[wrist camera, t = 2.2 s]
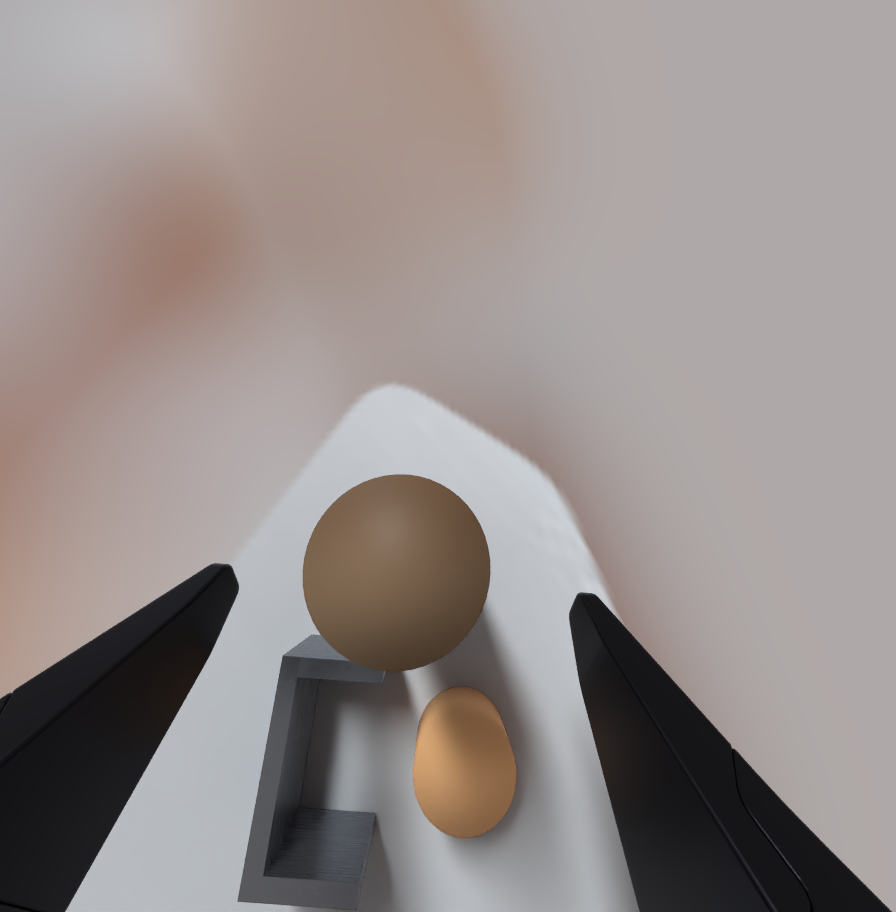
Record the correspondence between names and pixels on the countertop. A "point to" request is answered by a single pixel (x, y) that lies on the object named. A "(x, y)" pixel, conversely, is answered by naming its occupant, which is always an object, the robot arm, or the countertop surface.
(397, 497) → the ball
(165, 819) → the countertop surface
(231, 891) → the countertop surface
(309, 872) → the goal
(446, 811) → the tan rounded block
